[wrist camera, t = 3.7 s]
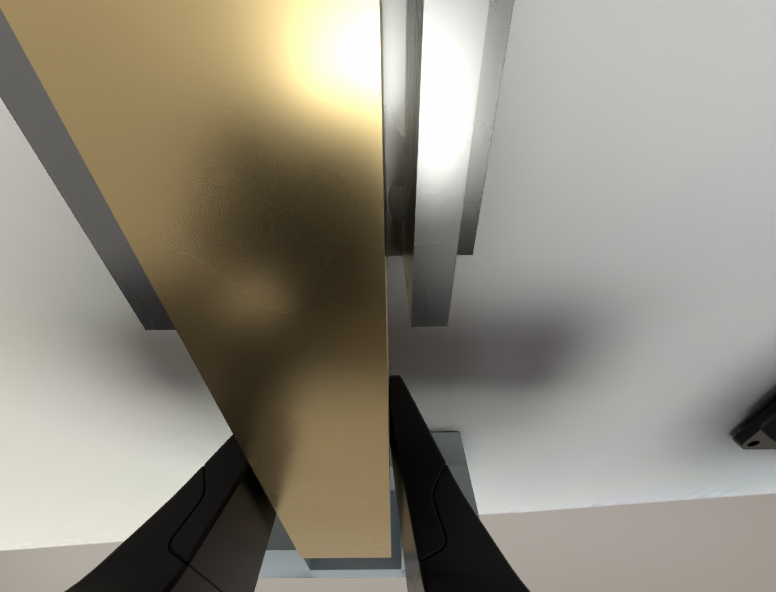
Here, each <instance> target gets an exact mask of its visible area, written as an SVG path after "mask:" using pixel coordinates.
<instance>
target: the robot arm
mask: <svg viewBox="0 0 776 592" xmlns="http://www.w3.org/2000/svg"><path fill="white" fill-rule="evenodd" d="M389 432H390V451H391V459H392V467H393V475H394V483H395V491H396V499H397V507H398V516H399V524H400V532H401V540H402V548H403V556H404V564H405V572H406V580H407V588H408V592H530V591H529V589H528V588H527V587H526V586H525V585H524V583H523V582H522V581H521V580H520V578H519V577H518V576H517V574H516V573H515V571H514V570H513V569H512V567H511V566H510V564H509V563H508V561H507V560H506V559H505V557H504V555H503V554H502V552H501V551H500V549H499V548H498V547H497V545H496V543H495V542H494V540H493V539H492V537H491V536H490V534H489V533H488V531H487V530H486V528H485V527H484V525H483V524H482V522H481V521H480V519H479V518H478V516H477V515H476V513H475V512H474V510H473V509H472V507H471V505H470V504H469V502H468V501H467V499H466V497H465V496H464V494H463V492H462V491H461V489H460V487H459V485H458V483H457V482H456V480H455V478H454V476H453V474H452V472H451V471H450V469H449V467H448V465H446V461H445V459H444V457H443V456H442V454H441V452H440V450H439V448H438V446H437V444H436V442H435V440H434V438H433V436H432V434H431V433H430V431H429V429H428V427H427V425H426V423H425V421H424V419H423V417H422V415H421V413H420V412H419V410H418V408H417V406H416V404H415V402H414V400H413V398H412V396H411V394H410V392H409V390H408V389H407V387H406V385H405V383H404V381H403V379H402V377H401V376H400V375H391V376H389ZM733 440H734V441H735V442H736V443H737V444H738V445H739V446H740V447H741V448H743V449H776V401H774V402H773V403H772V404H771V405H770V406H769V407H767V408H766V409H765V410H764V411H763V412H762V413H761V414H759V415H758V416H757V417H756V418H755V419H754V420H752V421H751V422H750V423H749V424H748V425H747V426H746V427H744V428H743V429H742V430H741V431H740V432H739V433H737V434H736V435H735V436H734V437H733ZM276 514H277V513H276V511H275V509H274V508H273V506H272V504H271V502H270V500H269V498H268V497H267V495H266V493H265V491H264V489H263V487H262V486H261V484H260V482H259V480H258V478H257V476H256V475H255V473H254V471H253V469H252V467H251V465H250V464H249V462H248V460H247V458H246V456H245V455H244V453H243V451H242V449H241V447H240V445H239V444H238V442H237V440H236V438H235V436H234V434H233V435H232V436H231V437H230V438H229V439H228V440H227V441H226V442H225V443H224V444H223V445H222V446H221V448H220V449H219V450H218V451H217V452H216V453H215V454H214V455H213V456H212V457H211V458H210V459H209V460H208V461H207V462H206V463H205V465H204V466H203V467H201V468H200V469H199V470H198V471H197V472H196V474H195V475H194V476H193V477H192V478H191V479H190V480H189V481H188V482H187V483H186V484H185V485H184V486H183V487H182V488H181V489H180V490H179V491H178V492H177V493H176V494H175V495H174V496H173V497H172V498H171V499H170V500H169V501H168V502H166V503H165V504H164V505H163V506H162V507H161V508H160V509H159V510H158V511H157V512H156V513H155V514H154V515H153V516H152V517H151V518H149V519H148V520H147V521H146V522H145V523H144V524H143V525H142V526H141V527H140V528H138V529H137V530H136V531H135V532H134V533H133V534H132V535H131V536H130V537H129V538H128V539H126V540H125V541H124V542H123V543H122V544H121V545H120V546H119V547H118V548H117V549H116V550H114V551H113V552H112V553H111V554H110V555H109V556H108V557H107V558H106V559H105V560H103V562H101V563H100V564H99V565H98V566H97V567H96V568H95V569H93V570H92V571H91V572H90V573H89V574H87V575H86V576H85V577H84V578H82V579H81V580H80V581H78V582H77V583H76V584H74V585H73V586H72V587H70V588H69V589H67V590H66V591H65V592H254V590H255V587H256V583H257V580H258V576H259V573H260V570H261V566H262V563H263V559H264V556H265V552H266V549H267V545H268V542H269V538H270V535H271V531H272V528H273V524H274V521H275V518H276Z"/></svg>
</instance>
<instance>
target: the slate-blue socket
mask: <svg viewBox="0 0 776 592" xmlns="http://www.w3.org/2000/svg"><path fill="white" fill-rule="evenodd" d="M430 433H431V434H432V436H433V438H434V440H435V442H436V444H437V446H438V448H439V450H440V452H441V454H442V456H443V457H444V459H445V461H446V465H448V467H449V469H450V471H451V472H452V474H453V476H454V478H455V480H456V482H457V483H458V485H459V487H460V489H461V491H462V492H463V494H464V496H465V497H466V499H467V501H468V502H469V504H470V505H471V507H472V509H473V510H474V512H475V513H476V515H477V516H478V518H479V515H478V510H477V506H476V502H475V497H474V493H473V489H472V484H471V480H470V476H469V471H468V467H467V463H466V458H465V454H464V449H463V445H462V441H461V436H460V432H430ZM390 484H391V558H301V557H300V555H299V553H298V551H297V550H296V548H295V546H294V544H293V542H292V540H291V539H290V537H289V535H288V533H287V531H286V530H285V528H284V526H283V524H282V522H281V520H280V519H279V517H278V515H277V514H276V518H275V521H274V524H273V528H272V531H271V535H270V538H269V542H268V545H267V549H266V552H265V556H264V559H263V563H262V566H261V570H260V573H259V576H258V578H358V577H359V578H360V577H361V578H362V577H363V578H364V577H365V578H366V577H406V572H405V564H404V556H403V548H402V540H401V532H400V524H399V516H398V507H397V499H396V491H395V483H394V475H393V467H392V459H391V451H390Z"/></svg>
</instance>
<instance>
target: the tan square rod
mask: <svg viewBox="0 0 776 592" xmlns="http://www.w3.org/2000/svg"><path fill="white" fill-rule="evenodd" d="M0 8H1V10H2V12H3V14H4V16H5V17H6V19H7V21H8V23H9V25H10V27H11V28H12V30H13V32H14V34H15V36H16V37H17V39H18V41H19V43H20V45H21V47H22V48H23V50H24V52H25V54H26V56H27V58H28V59H29V61H30V63H31V65H32V67H33V69H34V70H35V72H36V74H37V76H38V78H39V80H40V81H41V83H42V85H43V87H44V89H45V91H46V92H47V94H48V96H49V98H50V100H51V101H52V103H53V105H54V107H55V109H56V111H57V112H58V114H59V116H60V118H61V120H62V122H63V123H64V125H65V127H66V129H67V131H68V133H69V134H70V136H71V138H72V140H73V142H74V144H75V145H76V147H77V149H78V151H79V153H80V155H81V156H82V158H83V160H84V162H85V164H86V166H87V167H88V169H89V171H90V173H91V175H92V176H93V178H94V180H95V182H96V184H97V186H98V187H99V189H100V191H101V193H102V195H103V197H104V198H105V200H106V202H107V204H108V206H109V208H110V209H111V211H112V213H113V215H114V217H115V219H116V220H117V222H118V224H119V226H120V228H121V230H122V231H123V233H124V235H125V237H126V239H127V241H128V242H129V244H130V246H131V248H132V250H133V251H134V253H135V255H136V257H137V259H138V261H139V262H140V264H141V266H142V268H143V270H144V272H145V273H146V275H147V277H148V279H149V281H150V283H151V284H152V286H153V288H154V290H155V292H156V294H157V295H158V297H159V299H160V301H161V303H162V305H163V306H164V308H165V310H166V312H167V314H168V316H169V317H170V319H171V321H172V323H173V325H174V326H175V328H176V330H177V332H178V334H179V336H180V337H181V339H182V341H183V343H184V345H185V347H186V348H187V350H188V352H189V354H190V356H191V358H192V359H193V361H194V363H195V365H196V367H197V369H198V370H199V372H200V374H201V376H202V378H203V380H204V381H205V383H206V385H207V387H208V389H209V391H210V392H211V394H212V396H213V398H214V400H215V401H216V403H217V405H218V407H219V409H220V411H221V412H222V414H223V416H224V418H225V420H226V422H227V423H228V425H229V427H230V429H231V431H232V433H233V434H234V436H235V438H236V440H237V442H238V444H239V445H240V447H241V449H242V451H243V453H244V455H245V456H246V458H247V460H248V462H249V464H250V465H251V467H252V469H253V471H254V473H255V475H256V476H257V478H258V480H259V482H260V484H261V486H262V487H263V489H264V491H265V493H266V495H267V497H268V498H269V500H270V502H271V504H272V506H273V508H274V509H275V511H276V513H277V515H278V517H279V519H280V520H281V522H282V524H283V526H284V528H285V530H286V531H287V533H288V535H289V537H290V539H291V540H292V542H293V544H294V546H295V548H296V550H297V551H298V553H299V555H300V557H301V558H391V484H390V432H389V359H388V302H387V244H386V186H385V129H384V71H383V13H382V0H0Z"/></svg>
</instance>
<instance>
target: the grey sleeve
mask: <svg viewBox="0 0 776 592" xmlns="http://www.w3.org/2000/svg"><path fill="white" fill-rule="evenodd" d="M513 5H514V0H382V13H383V71H384V129H385V186H386V244H387V256H403V262H404V270H405V279H406V288H407V297H408V305H409V314H410V323H411V327H420V326H447V325H448V317H449V309H450V301H451V294H452V286H453V278H454V271H455V263H456V255H473V249H474V243H475V237H476V231H477V225H478V219H479V213H480V206H481V200H482V194H483V188H484V182H485V176H486V170H487V164H488V158H489V151H490V145H491V139H492V133H493V127H494V121H495V115H496V109H497V103H498V96H499V90H500V84H501V78H502V72H503V66H504V60H505V54H506V48H507V41H508V35H509V29H510V23H511V17H512V11H513ZM0 97H1V99H2V100H3V102H4V104H5V105H6V107H7V108H8V110H9V112H10V113H11V115H12V116H13V118H14V120H15V121H16V123H17V124H18V126H19V128H20V129H21V131H22V132H23V134H24V136H25V137H26V139H27V140H28V142H29V144H30V145H31V147H32V148H33V150H34V152H35V153H36V155H37V156H38V158H39V160H40V161H41V163H42V164H43V166H44V168H45V169H46V171H47V173H48V174H49V176H50V177H51V179H52V181H53V182H54V184H55V185H56V187H57V189H58V190H59V192H60V193H61V195H62V197H63V198H64V200H65V201H66V203H67V205H68V206H69V208H70V209H71V211H72V213H73V214H74V216H75V217H76V219H77V221H78V222H79V224H80V225H81V227H82V229H83V230H84V232H85V233H86V235H87V237H88V238H89V240H90V241H91V243H92V245H93V246H94V248H95V249H96V251H97V253H98V254H99V256H100V258H101V259H102V261H103V262H104V264H105V266H106V267H107V269H108V270H109V272H110V274H111V275H112V277H113V278H114V280H115V282H116V283H117V285H118V286H119V288H120V290H121V291H122V293H123V294H124V296H125V298H126V299H127V301H128V302H129V304H130V306H131V307H132V309H133V310H134V312H135V314H136V315H137V317H138V318H139V320H140V322H141V323H142V325H143V326H144V328H145V330H176V328H175V326H174V325H173V323H172V321H171V319H170V317H169V316H168V314H167V312H166V310H165V308H164V306H163V305H162V303H161V301H160V299H159V297H158V295H157V294H156V292H155V290H154V288H153V286H152V284H151V283H150V281H149V279H148V277H147V275H146V273H145V272H144V270H143V268H142V266H141V264H140V262H139V261H138V259H137V257H136V255H135V253H134V251H133V250H132V248H131V246H130V244H129V242H128V241H127V239H126V237H125V235H124V233H123V231H122V230H121V228H120V226H119V224H118V222H117V220H116V219H115V217H114V215H113V213H112V211H111V209H110V208H109V206H108V204H107V202H106V200H105V198H104V197H103V195H102V193H101V191H100V189H99V187H98V186H97V184H96V182H95V180H94V178H93V176H92V175H91V173H90V171H89V169H88V167H87V166H86V164H85V162H84V160H83V158H82V156H81V155H80V153H79V151H78V149H77V147H76V145H75V144H74V142H73V140H72V138H71V136H70V134H69V133H68V131H67V129H66V127H65V125H64V123H63V122H62V120H61V118H60V116H59V114H58V112H57V111H56V109H55V107H54V105H53V103H52V101H51V100H50V98H49V96H48V94H47V92H46V91H45V89H44V87H43V85H42V83H41V81H40V80H39V78H38V76H37V74H36V72H35V70H34V69H33V67H32V65H31V63H30V61H29V59H28V58H27V56H26V54H25V52H24V50H23V48H22V47H21V45H20V43H19V41H18V39H17V37H16V36H15V34H14V32H13V30H12V28H11V27H10V25H9V23H8V21H7V19H6V17H5V16H4V14H3V12H2V10H1V8H0Z"/></svg>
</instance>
